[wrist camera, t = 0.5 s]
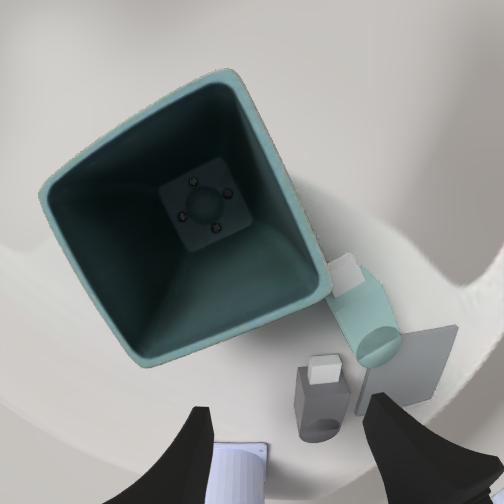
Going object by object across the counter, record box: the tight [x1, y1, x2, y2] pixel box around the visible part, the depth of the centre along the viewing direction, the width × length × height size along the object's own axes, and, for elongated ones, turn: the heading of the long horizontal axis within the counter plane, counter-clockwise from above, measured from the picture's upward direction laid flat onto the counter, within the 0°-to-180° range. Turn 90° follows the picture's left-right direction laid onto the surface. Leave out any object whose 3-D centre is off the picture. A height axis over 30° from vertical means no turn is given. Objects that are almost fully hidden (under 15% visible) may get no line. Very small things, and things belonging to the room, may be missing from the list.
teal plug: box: [325, 252, 402, 368], centre depth 18 cm, size 8×3×4 cm, turn 31°
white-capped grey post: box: [294, 354, 351, 443], centre depth 20 cm, size 8×3×4 cm, turn 1°
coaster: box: [355, 325, 459, 416], centre depth 22 cm, size 9×9×1 cm
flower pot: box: [38, 68, 334, 368], centre depth 14 cm, size 9×9×9 cm
